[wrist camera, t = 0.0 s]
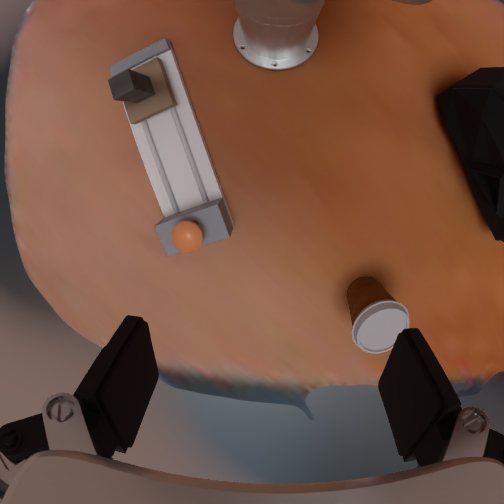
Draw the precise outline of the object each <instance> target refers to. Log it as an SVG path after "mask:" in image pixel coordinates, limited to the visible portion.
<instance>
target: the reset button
mask: <svg viewBox="0 0 504 504" xmlns="http://www.w3.org/2000/svg"><path fill="white" fill-rule="evenodd" d="M203 238H204V237H203V231H202V229H201V228H200V226H199V225H198V224H196V223H195V222H192V221H188V220H186V221H181V222H179V223H178V224H177V225H176V226H175V227H174V228H173V230H172V232H171V241H172V243H173V245H174V246H175V248H176V249H178V250H179V251H181V252H184V253H192V252H195V251H196V250H198V249H199V248H200V246H201V244H202V242H203Z"/></svg>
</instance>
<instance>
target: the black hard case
mask: <svg viewBox="0 0 504 504" xmlns="http://www.w3.org/2000/svg"><path fill="white" fill-rule="evenodd" d="M436 99H437V104H438V109H439V111H440V113H441V115H442V117H443V119H444V122H445V124H446V126H447V128H448V131H449V133H450V135H451V137H452V139H453V141H454V144H455V146H456V148H457V150H458V153H459V155H460V158H461V160H462V163H463V165H464V168H465V170H466V173H467V175H468V178H469V181H470V184H471V186H472V189H473V192H474V195H475V198H476V200H477V202H478V204H479V206H480V209H481V211H482V213H483V215H484V218H485V220H486V222H487V224H488V226H489V228H490V230H491V232H492V234H493V236H494V238H495V240H501V241H503V242H504V67H491V68H480V69H478V70H476V71H475V72H473V73H472V74H470V75H468V76H467V77H465V78H464V79H462V80H461V81H459V82H457V83H456V84H454V85H453V86H451V87H450V88H448V89H447V90H445V91H444V92H442V93H441V94H439V95H438V96H437V98H436Z"/></svg>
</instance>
